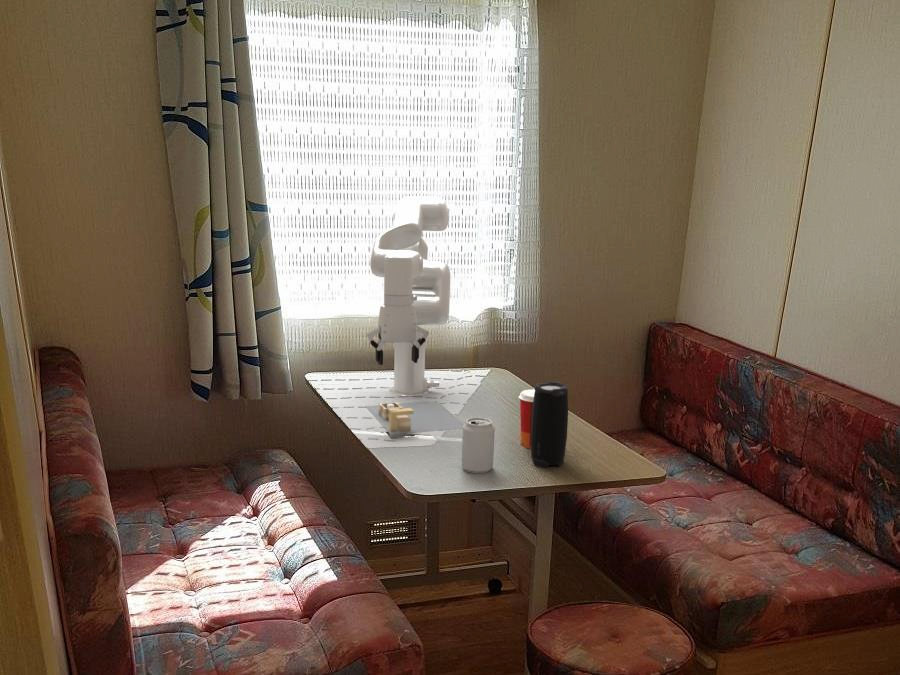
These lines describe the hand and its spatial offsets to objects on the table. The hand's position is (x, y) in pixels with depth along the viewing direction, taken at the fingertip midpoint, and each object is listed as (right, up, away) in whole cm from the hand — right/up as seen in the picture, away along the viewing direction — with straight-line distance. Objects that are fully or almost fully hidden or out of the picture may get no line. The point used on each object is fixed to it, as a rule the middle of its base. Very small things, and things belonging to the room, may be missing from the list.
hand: (397, 362), depth 220 cm
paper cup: (+35, -21, -10) cm, 42 cm away
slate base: (+4, -16, +9) cm, 19 cm away
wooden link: (-1, -16, +3) cm, 17 cm away
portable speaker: (+38, -24, -22) cm, 50 cm away
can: (+21, -24, -27) cm, 42 cm away
